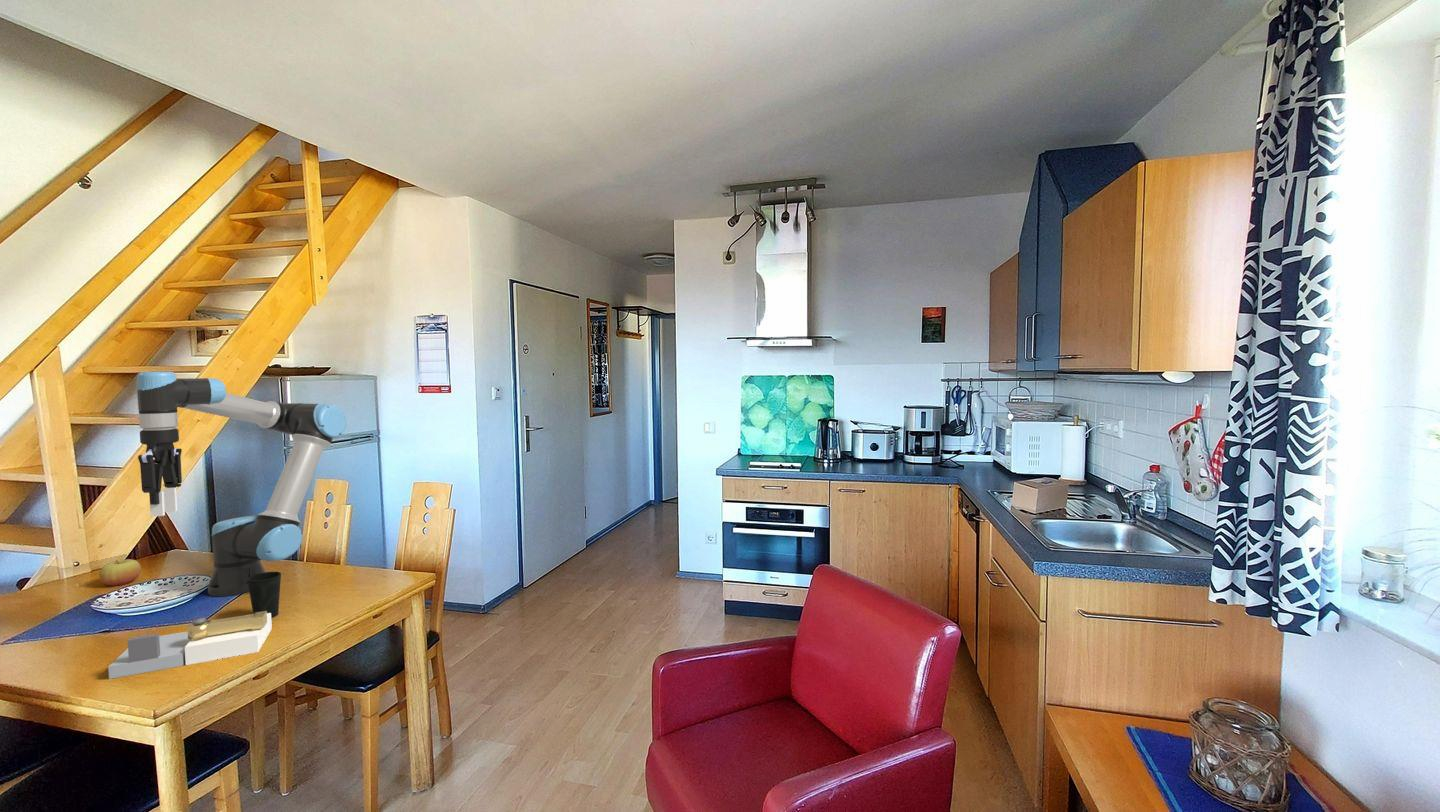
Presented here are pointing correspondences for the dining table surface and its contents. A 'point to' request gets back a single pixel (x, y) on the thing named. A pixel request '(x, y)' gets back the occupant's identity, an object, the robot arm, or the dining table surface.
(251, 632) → the doorframe
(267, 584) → the cup
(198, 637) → the bar
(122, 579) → the apple
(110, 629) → the dining table surface
